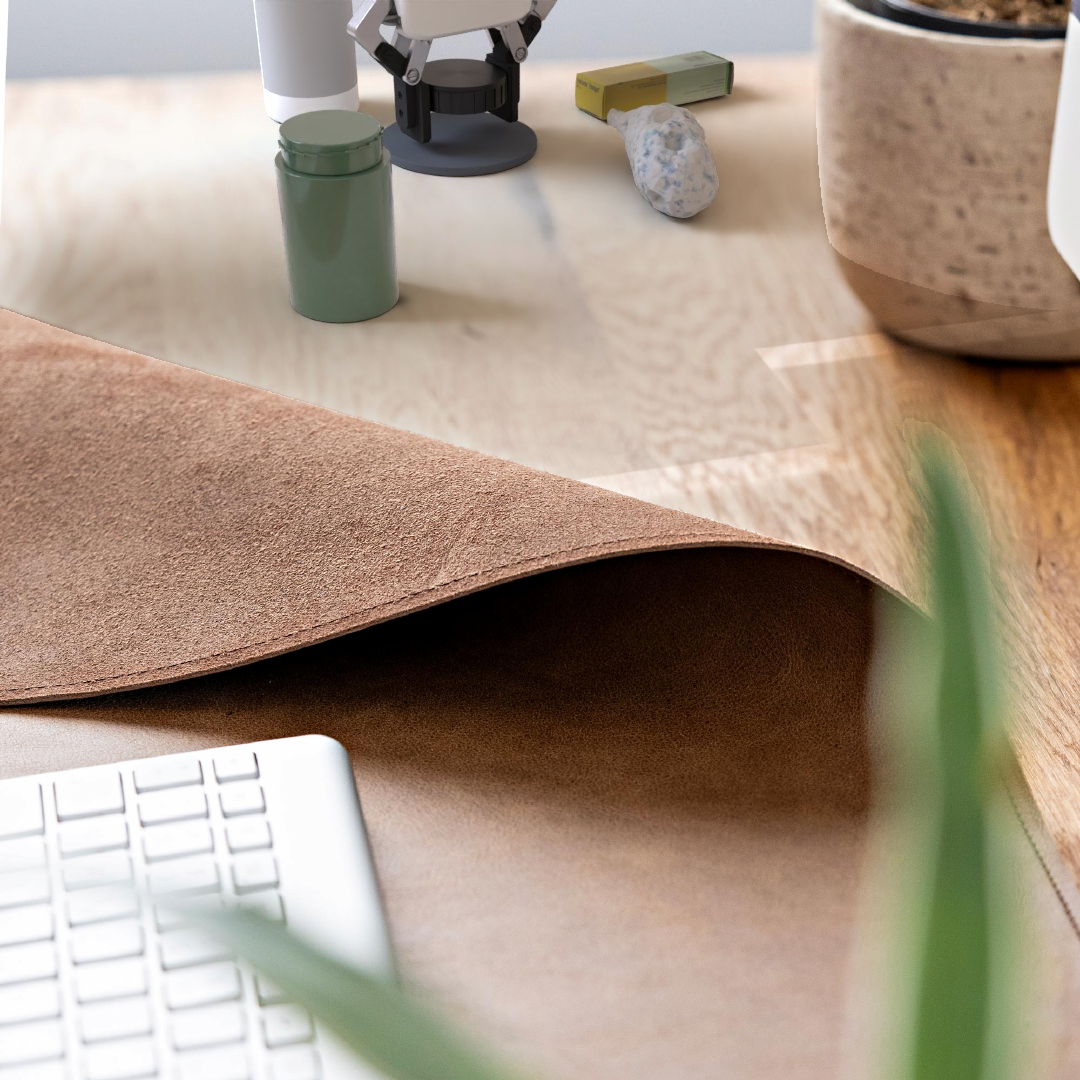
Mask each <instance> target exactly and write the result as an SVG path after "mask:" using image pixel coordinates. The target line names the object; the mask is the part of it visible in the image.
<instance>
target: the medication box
mask: <svg viewBox="0 0 1080 1080" xmlns="http://www.w3.org/2000/svg"><path fill="white" fill-rule="evenodd" d="M734 63H735V62H733V61H731V60H729V59H727V58H724V57H722V56H720V55H716V54H714V53H711V52H708V51H706V50H697V51H692V52H687V53H681V54H674V55H670V56H664V57H660V58H659V57H658V58H654V59H648V60H642V61H637V62H631V63H626V64H620V65H614V66H610V67H605V68H598V69H593V70H588V71H583V72H577V73H576V75H575V86H574V103H575V107H576V108H578V109H579V110H581V111H583V112H584V113H587V114H588V115H590V116H592V117H595V118H597V119H599V120H602V121H607V115H608V113H609V111H610V110H611V109H612V108H614V109H616V110H620V111H624V112H628V111H630V110H633V109H637V108H639V107H642V106H646V105H658V104H661V103H669V104H671V105H674V106H679V105H683V104H688V103H693V102H698V101H703V100H707V99H712V98H717V97H722V96H727V95H728V96H731V95H732V91H733V87H734V82H735V81H734V80H735V65H734Z"/></svg>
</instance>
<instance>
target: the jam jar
mask: <svg viewBox="0 0 1080 1080" xmlns="http://www.w3.org/2000/svg"><path fill="white" fill-rule="evenodd" d="M384 129H385V125H384V124H383V122H381V121H380V120H379V119H377V117H376V118H375V117H374V116H372V115H370V114H367V113H364V112H361V111H357V112H356V111H349V110H320V111H312V112H307V113H303V114H299V115H296V116H293V117H291V118H289V119H287V120H286V121H284V122H283V123H280V125H279V129H278V135H279V139H277V144H278V148H279V149H280V150H279V151H278V152H277V153H276V155H275V156H274V159H273V161H274V162H273V163H274V169H275V170H274V171H275V178H276V189H277V195H278V205H279V214H280V222H281V232H282V240H283V249H284V257H285V267H286V275H287V283H288V284H287V285H288V292H289V300H290V305H291V307H292V308H293V309H294V310H295V311H296V312H297V313H299V314H300V315H302V316H304V317H306V318H309V319H312V320H315V321H319V322H324V323H325V322H326V323H339V324H340V323H353V322H355V323H356V322H361V321H365V320H369V319H373V318H376V317H379V316H381V315H383V314H386V313H387V312H388V311H390V310H391V309H392V308H394V307H395V306H396V305H397V303H398V301H399V298H400V286H399V285H400V284H399V270H398V269H399V267H398V251H397V235H396V234H397V233H396V219H395V218H396V217H395V216H396V215H395V200H394V199H395V198H394V182H393V180H394V179H393V165H392V164H393V163H392V162H391V154H390V152H389V150H388V149H387V148H385V147H384V146H383V140H382V137H383V133H384Z"/></svg>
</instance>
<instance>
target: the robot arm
mask: <svg viewBox="0 0 1080 1080" xmlns="http://www.w3.org/2000/svg"><path fill="white" fill-rule="evenodd" d="M557 2H558V0H363V1H362V2H361V4H360V5H359V7H358V8H357V9H356V11H355V12H354V13H353V17H352V18H351V19H350V21H349V22H348V24H347V27H346V30H347V33H348V34H349V35H350V36H351V37H352V38H353V39H354V40H355V43H357V44H358V45H359V46H360V47H361V48H362V49H363V50H365V51H366V52H367V54H368V55H369V56H370V57H371V58H372V59H373V60H374V61H375V62H377V63H378V64H379V66H381V67H382V68H383V69H384V70H385V72H386V73H387V74H389V75H391V76H392V79H393V93H394V112H395V114H394V115H395V120H396V121H395V122H397V124H398V125H399V127H400V130H401V131H402V133H404V134H406V135H407V136H409V137H411V138H412V139H414V140H416V141H417V142H419V143H421V144H423V143H427V142H429V141H430V140H431V138H432V135H431V113H432V112H431V111H430V88H429V85H428V84H427V83H425V82H423V81H421V76H422V73H423V70H424V67H425V63H426V62H427V61H428V57H429V53H430V50H431V46H432V44H433V42H434V41H433V40H435V39H440V38H447V37H451V36H458V35H463V34H468V33H473V32H477V31H484V32H485V34H486V36H487V39H488V42H489V44H490V47H491V49H492V52H489V53H486V54H485V58H484V61H486V62H490V63H493V64H496V65H498V66H500V67H502V68H503V69H504V70H505V72H506V78H507V97H506V101H505V103H504V104H503V105H502V106H500V107H498V108H497V109H494V110H491V111H488V112H487V113H491V114H493V115H495V116H497V117H499V118H501V119H503V120H505V121H506V122H508V123H512V122H516V121H519V103H520V100H521V64H522V63H524V62H525V61H526V60H527V58H528V55H529V50H528V48H529V47H530V46H531V45H532V43H533V41H534V40H535V39H536V37H537V36H538V35H539V33H540V31H541V29H542V27H543V26H542V25H543V24H542V22H544V21H545V20H546V19H547V17H548V16H549V14H550V13H551V11H552V10H553V8H554V7H555V5H556V4H557ZM381 25H383V26H388V27H394V32H393V35H392V37H391V42H390V43H389V42H388V41H387V40H386V39H385V37H384V36H382V34H381V31H380V27H381Z"/></svg>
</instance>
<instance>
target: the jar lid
mask: <svg viewBox="0 0 1080 1080" xmlns="http://www.w3.org/2000/svg"><path fill="white" fill-rule="evenodd" d="M421 81H423V82H425V83H427V84H428V85H429V88H430V111H431V113H432V112H436V113H442V114H453V115H466V114H477V113H483V112H485V113H489V112H488V111H491V110H494V109H497V108H498V107H500V106H502V105H503V104H504V103H505V101H506V97H507V78H506V72H505V70H504V69H503V68H502V67H500V66H498V65H496V64H493V63H490V62H486V61H485V60H480V59H474V58H442V59H436V60H430V61H426V63H425V67H424V70H423V73H422V76H421Z"/></svg>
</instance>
